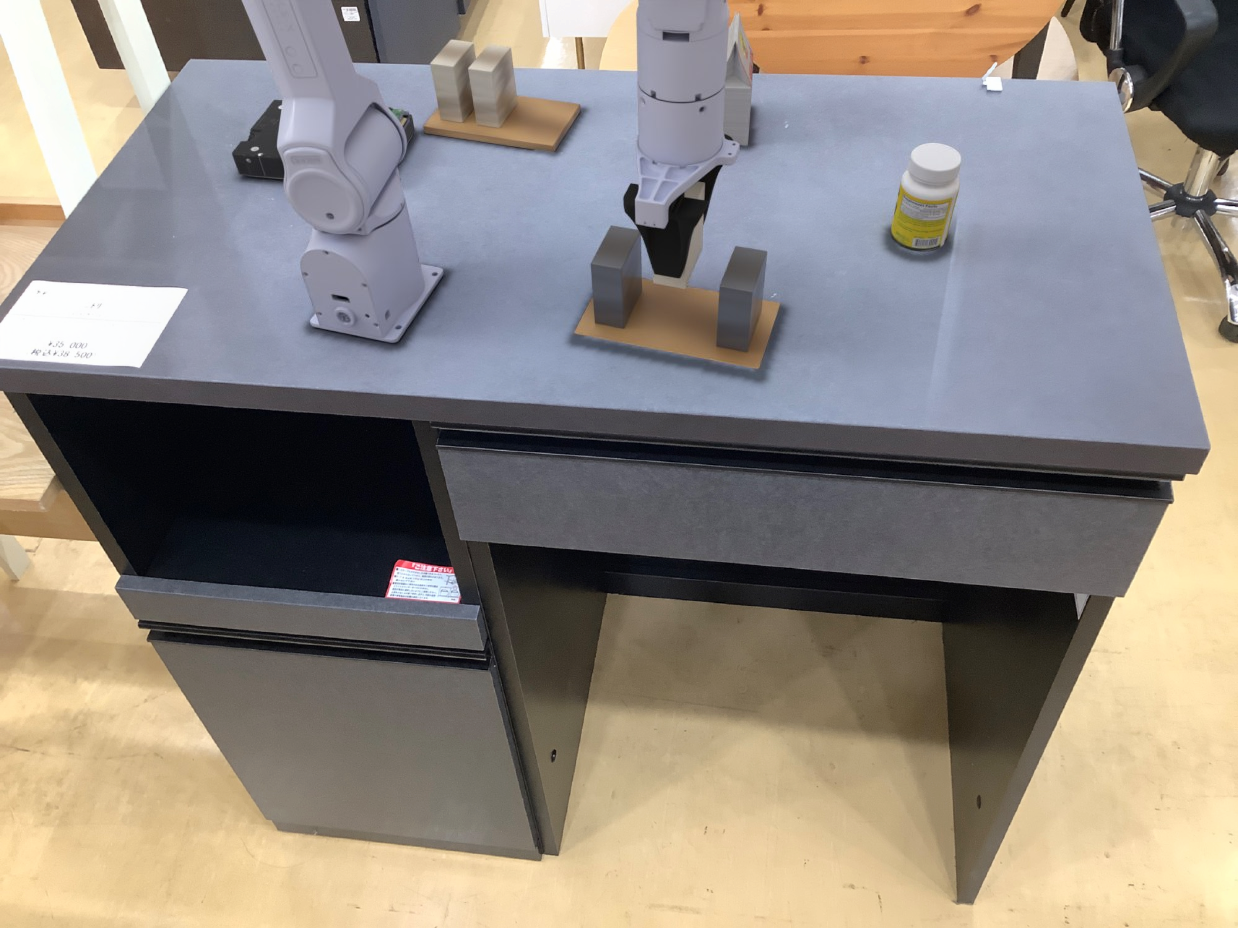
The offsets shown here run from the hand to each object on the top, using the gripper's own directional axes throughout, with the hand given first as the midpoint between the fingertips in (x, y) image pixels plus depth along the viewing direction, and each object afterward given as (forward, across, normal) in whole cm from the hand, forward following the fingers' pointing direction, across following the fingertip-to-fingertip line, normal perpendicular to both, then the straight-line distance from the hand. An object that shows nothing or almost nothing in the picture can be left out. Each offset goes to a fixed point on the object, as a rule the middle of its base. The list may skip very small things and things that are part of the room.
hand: (678, 251), depth 74 cm
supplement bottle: (+7, +16, -17) cm, 25 cm away
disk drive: (+8, +15, +40) cm, 43 cm away
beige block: (+1, 0, 0) cm, 1 cm away
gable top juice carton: (+8, +30, +3) cm, 31 cm away
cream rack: (+7, +25, +25) cm, 36 cm away
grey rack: (+7, 0, +1) cm, 7 cm away
